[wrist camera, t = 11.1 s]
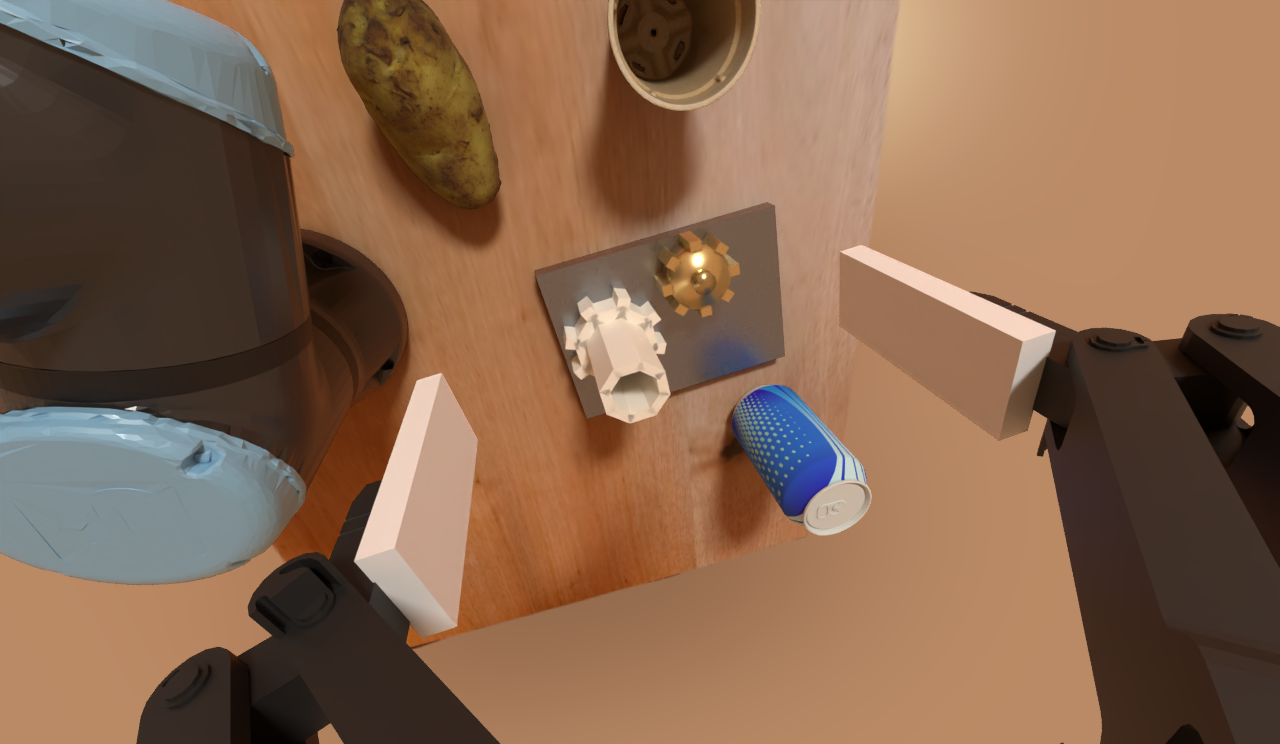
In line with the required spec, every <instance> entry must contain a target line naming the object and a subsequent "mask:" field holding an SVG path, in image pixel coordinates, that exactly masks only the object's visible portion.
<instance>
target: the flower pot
mask: <svg viewBox="0 0 1280 744" xmlns="http://www.w3.org/2000/svg"><path fill="white" fill-rule="evenodd" d="M624 5H627V6H628V9H627V12H626V14H625V17H624V20H623V23H622V25H619V24H618V15H619V13H620V9H621V8H622V7H623V6H624ZM760 13H761V0H675V4H670V3H669V2H668V1H667V0H608V11H607V22H608V34H609V40H610V45H611V49H612V52H613V55H614V58H615V60H616V63H617V65H618V67H619V69H620V70H621V72H622V74H623V76H624V77H625V79H626V80H627V81H628V83H629V84H630V85H631V86H632V88H633V89H634V90H635V91H636V92H637V93H638V94H640V95H641V96H642V97H643V98H644V99H646V100H647V101H649V102H651V103H652V104H654V105H657V106H659V107H662V108H665V109H669V110H674V111H689V110H694V109H698V108H701V107H704V106H707V105H709V104H711V103H713V102H714V101H716V100H718V99H719V98H721V97H722V96H723V95H724V94H725V93H727V92H728V91H729V90H730V89H731V88H732V87H733V86H734V85H735V83H736V82H737V81H738V80H739V78H740V77H741V75H742V74H743V72H744V71H745V69H746V67H747V65H748V63H749V61H750V59H751V56H752V54H753V51H754V48H755V45H756V41H757V37H758V33H759V24H760V16H761V15H760ZM653 29H654V30H656V36H652V35H651V30H653ZM680 41H681V42H683V43H684V50H683V52H682V53H681V54H680V57H679V58H678V59H677V60H676V59H675V58H674V54H675V52H676V50H677V48H678V45H679V42H680ZM633 61H634V62H635V63H637V64H639V63H640V65H641V67H643V68H645V71H644V72H642V71H640V70H638V69H637V68H635V67H634V66H633V64H632V62H633Z"/></svg>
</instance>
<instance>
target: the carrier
mask: <svg viewBox="0 0 1280 744" xmlns="http://www.w3.org/2000/svg"><path fill="white" fill-rule="evenodd" d="M535 276H536V279H537V282H538V285H539V287H540V290H541V293H542V296H543V298H544V301H545V304H546V307H547V309H548V312H549V315H550V318H551V321H552V323H553V326H554V329H555V332H556V334H557V337H558V340H559V343H560V345H561V348H562V351H563V354H564V357H565V359H566V362H567V365H568V368H569V370H570V373H571V376H572V379H573V381H574V384H575V387H576V390H577V393H578V395H579V398H580V401H581V404H582V406H583V409H584V412H585V415H586V417H587V419H589V418H592V417H595V416H598V415H601V414H604V413H606V411H605V408H604V405H603V402H602V399H601V396H600V393H599V390H598V386H597V383H596V379H595V376H592V375H590V374H589V375H587V376H586V377H585V378H583V379H582V380H581V379H580V378H579V377H578V376H577V375H576V374H575V373H574V372H573V367H572V362H571V359H572V358H574V357H575V356H576V355H578V354H577V351H576V350H569V349H565V344H564V339H563V333H564V326H568V327H575V325H576V323H577V321H578V320H579V318H580V316H581V314H580V311H579V308H578V304H577V303H578V302H580V301H581V300H582V299H583V298H585V297H586V296H587V297H588V298H589V299H590V300H591V301H592V303H596V302H599V301H603V300H606V299H609V298H612V295H613V288H621V289H626V291H627V293H628V295H629V296H630V298H631V301H630V302H631V303H633V304H635V305H637V306H639V307H641V306H642V305H643V304H645V303H646V302H647V301H649V303H650V304H651V305H652V307H653V308H654V309H655V311H656V312H657V314H658V315H659V317H660V319H661V320H660V321H659V322H658V323H656V324H655V325H654V326H653V328H654V332H660V333H661V335H662V337H663V338H664V340H665V342H666V343H667V344H666V349H665V353H664V354H656V355H657V357H658V359H659V360H660V362H661V364H662V366H663V368H664V370H665V373H666V377H667V381H668V386H669V390H670V392H674V391H677V390H680V389H683V388H686V387H689V386H692V385H696V384H699V383H702V382H705V381H708V380H711V379H714V378H718V377H721V376H724V375H727V374H730V373H733V372H736V371H740V370H743V369H746V368H749V367H752V366H755V365H758V364H761V363H765V362H768V361H771V360H774V359H777V358H780V357H783V356H785V351H784V336H783V321H782V306H781V291H780V276H779V261H778V246H777V231H776V216H775V206H774V205H772V204H770V203H768V202H767V203H764V204H760V205H757V206H753V207H750V208H747V209H743V210H740V211H736V212H733V213H730V214H726V215H723V216H719V217H716V218H713V219H709V220H706V221H702V222H699V223H696V224H692V225H689V226H685V227H682V228H678V229H675V230H672V231H668V232H665V233H661V234H658V235H655V236H651V237H648V238H644V239H641V240H638V241H634V242H631V243H627V244H624V245H621V246H617V247H614V248H610V249H607V250H604V251H600V252H597V253H593V254H590V255H586V256H583V257H580V258H576V259H573V260H569V261H566V262H563V263H559V264H556V265H552V266H549V267H546V268H542V269H539V270H535Z"/></svg>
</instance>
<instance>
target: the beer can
mask: <svg viewBox="0 0 1280 744" xmlns="http://www.w3.org/2000/svg"><path fill="white" fill-rule="evenodd" d="M731 424H732V430H733V433H734V435H735V436H736V438H737V440H738V441H739V443H740V444H741V446H742V447H743V449H744V451H745V452H746V454H747V455H748V457H749V459H750V460H751V462H752V463H753V465H754V466H755V468H756V470H757V471H758V473H759V474H760V476H761V477H762V479H763V481H764V482H765V484H766V485H767V487H768V488H769V490H770V492H771V493H772V495H773V496H774V498H775V499H776V501H777V503H778V504H779V506H780V507H781V509H782V510H783V512H784V514H785V515H786V516H787V517H788V518H789V519H790V520H792V521H793V522H795V523H797V524H800V525H802V526H805V528H806V529H807V530H808V531H809V532H811V533H813V534H816V535H822V536H824V535H832V534H836V533H839V532H842V531H844V530H846V529H848V528H849V527H851V526H852V525H853V524H855V523H856V522H857V521H859V520H860V519H861V518H862V517H863V515H864V514H865V513H866V511H867V510H868V508H869V506H870V503H871V499H872V495H871V491H870V489H869V487H868V486H867V482H866V473H865V470H864V468H863V466H862V464H861V463H860V462H859V461H858V460H857V459H856V458H855V457H854V455H853V454H852V453H851V452H850V451H849V450H848V449H847V448H846V447H845V446H844V445H843V444H842V442H841V441H840V440H839V439H838V438H837V437H836V436H835V435H834V434H833V433H832V432H831V431H830V430H829V428H828V427H827V426H826V425H825V424H824V423H823V422H822V421H821V420H820V419H819V418H818V417H817V415H816V414H815V413H814V412H813V411H812V410H811V409H810V408H809V407H808V406H807V405H806V404H805V403H804V401H803V400H802V399H801V398H800V397H799V396H798V395H797V394H796V393H795V392H794V391H793V390H792V389H790V388H788V387H786V386H783V385H761V386H758V387H755V388H753V389H751V390H750V391H748V392H747V393H746V394H744V395H743V396H742V397H741V399H740V400H739V401H738V403H737V405H736V407H735V409H734V413H733V416H732V422H731Z"/></svg>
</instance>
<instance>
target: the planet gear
mask: <svg viewBox="0 0 1280 744" xmlns="http://www.w3.org/2000/svg"><path fill="white" fill-rule="evenodd" d="M630 301H631V298H630V296H629V295H628V293H627V291H626V289H621V288H613V295H612V298H609V299H606V300H603V301H599V302H596V303H592V301H591V300H590V299H589V298H588V297H587V296H586V297H585V298H583V299H582V300H581V301H580V302H578V303H577V304H578V308H579V311H580V314H581V316H580V318H579V320H578V321H577V323H576V325H575V327H568V326H564V333H563V339H564V344H565V349H569V350H576V351H577V354H578V355H576V356H575V357H574V358H572V359H571V362H572V367H573V372H574V373H575V374H576V375H577V376H578V377H579V378H580V379H581V380H582V379H583V378H585V377H586V376H587V375H589V374H590V375H592V376H595V379H596V383H597V386H598V390H599V393H600V396H601V399H602V402H603V405H604V408H605V411H606V415H609V416H612V417H614V418H617V419H619V420H622V421H625V422H627V423H633V422H636V421H639V420H642V419H646V418H649V417H652V416H655V415H656V414H657V413H658V411H659V410H660V409H661V407H662V406H663V404H664V403H665V401H666V400H667V399H668V397H669V396H670V390H669V386H668V381H667V377H666V373H665V370H664V368H663V366H662V364H661V362H660V360H659V359H658V357H657V355H656V354H664V353H665V349H666V344H667V343H666V342H665V340H664V338H663V337H662V335H661V333H660V332H654V328H653V326H654V325H655V324H656V323H658V322H659V321H660V320H661V319H660V317H659V315H658V314H657V312H656V311H655V309H654V308H653V307H652V305H651V304H650V303H649V301H647V302H646V303H645V304H643V305H642V306H641V307H639V306H637V305H635V304H633V303H631V302H630Z"/></svg>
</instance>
